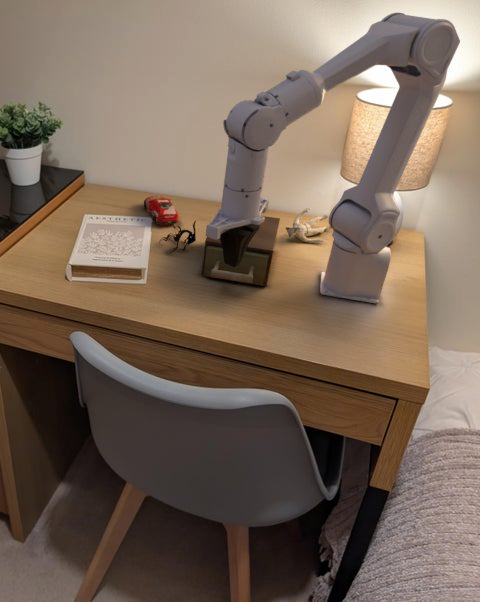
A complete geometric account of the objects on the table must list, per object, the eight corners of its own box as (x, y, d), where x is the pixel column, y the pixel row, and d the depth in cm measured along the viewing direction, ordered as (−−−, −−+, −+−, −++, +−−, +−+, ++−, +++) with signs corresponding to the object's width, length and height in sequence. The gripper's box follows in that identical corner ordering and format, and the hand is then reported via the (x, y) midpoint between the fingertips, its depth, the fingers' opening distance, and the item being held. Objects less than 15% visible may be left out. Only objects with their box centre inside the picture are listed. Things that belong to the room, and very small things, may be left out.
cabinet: (266, 286, 103) (273, 250, 99) (201, 275, 106) (205, 240, 102) (273, 251, 114) (280, 218, 110) (214, 243, 118) (218, 210, 114)
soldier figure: (338, 239, 120) (314, 240, 112) (317, 249, 123) (292, 250, 115) (324, 206, 122) (299, 205, 113) (304, 217, 125) (278, 216, 117)
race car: (141, 205, 135) (142, 189, 133) (163, 203, 135) (164, 187, 133) (156, 228, 124) (157, 211, 122) (180, 226, 124) (181, 209, 122)
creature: (158, 258, 114) (198, 254, 112) (154, 235, 112) (194, 229, 110) (161, 241, 121) (199, 236, 119) (157, 218, 118) (195, 213, 116)
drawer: (260, 299, 98) (265, 270, 94) (198, 288, 101) (201, 260, 98) (270, 252, 112) (275, 226, 109) (215, 244, 115) (219, 218, 112)
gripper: (239, 206, 79) (227, 289, 86) (291, 179, 87) (276, 256, 94) (198, 193, 83) (189, 273, 90) (251, 168, 91) (240, 243, 99)
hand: (231, 263), depth 93 cm, fingers closed
